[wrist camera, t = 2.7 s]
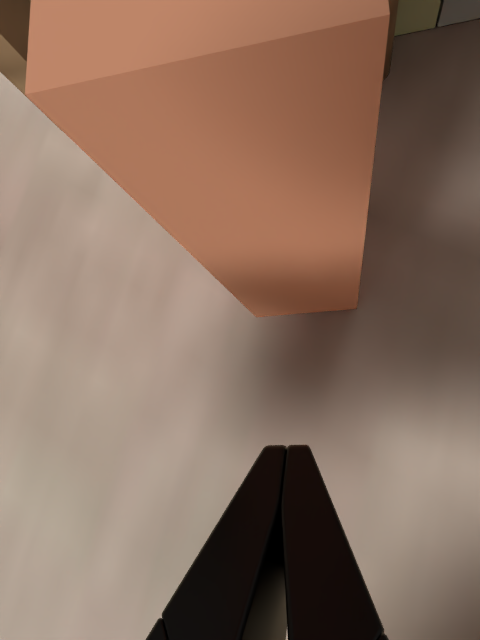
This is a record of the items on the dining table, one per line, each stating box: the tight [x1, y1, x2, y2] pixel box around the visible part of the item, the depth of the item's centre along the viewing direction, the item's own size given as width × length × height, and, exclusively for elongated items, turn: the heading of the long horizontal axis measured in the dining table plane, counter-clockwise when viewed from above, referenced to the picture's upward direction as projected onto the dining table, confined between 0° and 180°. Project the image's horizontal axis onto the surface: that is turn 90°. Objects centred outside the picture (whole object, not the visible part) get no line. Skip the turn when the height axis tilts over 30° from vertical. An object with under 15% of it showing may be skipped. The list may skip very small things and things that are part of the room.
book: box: [25, 0, 390, 317], centre depth 11 cm, size 8×4×12 cm, turn 2°
